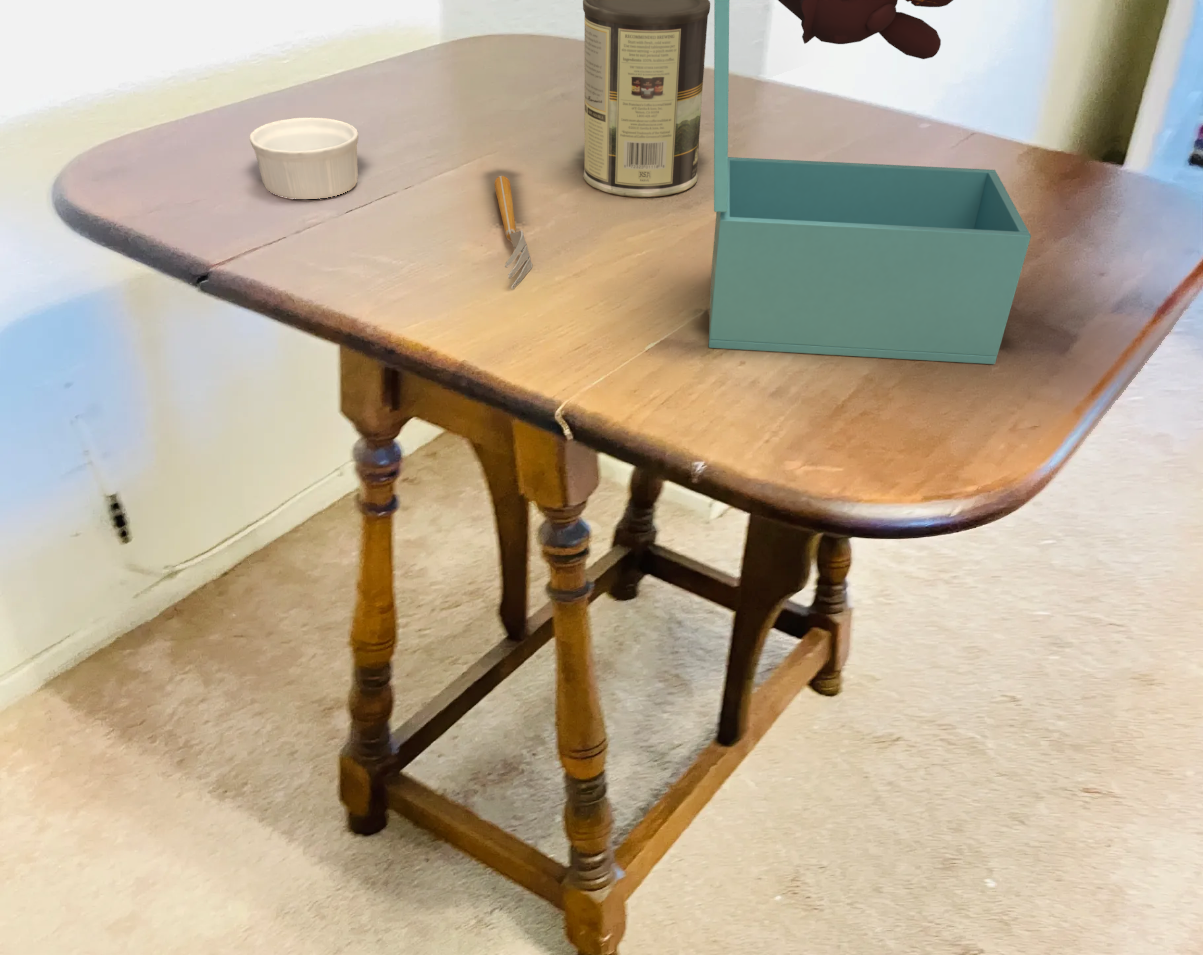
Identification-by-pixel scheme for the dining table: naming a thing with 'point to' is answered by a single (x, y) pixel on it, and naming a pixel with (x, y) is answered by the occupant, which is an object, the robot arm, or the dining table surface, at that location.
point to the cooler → (865, 260)
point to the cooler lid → (721, 103)
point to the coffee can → (643, 94)
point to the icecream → (867, 23)
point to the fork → (512, 230)
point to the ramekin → (307, 157)
